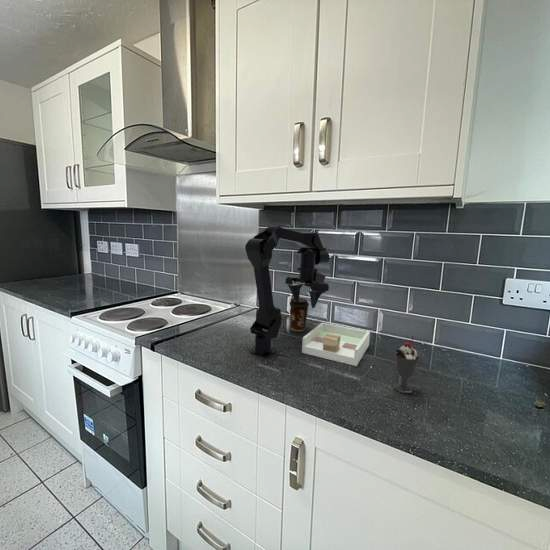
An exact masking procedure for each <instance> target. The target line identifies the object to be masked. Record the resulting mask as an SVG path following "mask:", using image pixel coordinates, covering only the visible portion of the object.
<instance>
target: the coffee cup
mask: <svg viewBox="0 0 550 550" xmlns="http://www.w3.org/2000/svg"><path fill="white" fill-rule="evenodd" d="M289 300H290V302H289V307H290V310H289V317H290V321H291V325H290V327H289V328H290V330H292V331H294V332H304V331H305V329H306V324H307V317H308V309H309V305H310V304H309V302H308V300H307V299H306V298H302V297H299V301H298V303H296V302H295V299H294V297H293V298H290V299H289Z"/></svg>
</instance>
